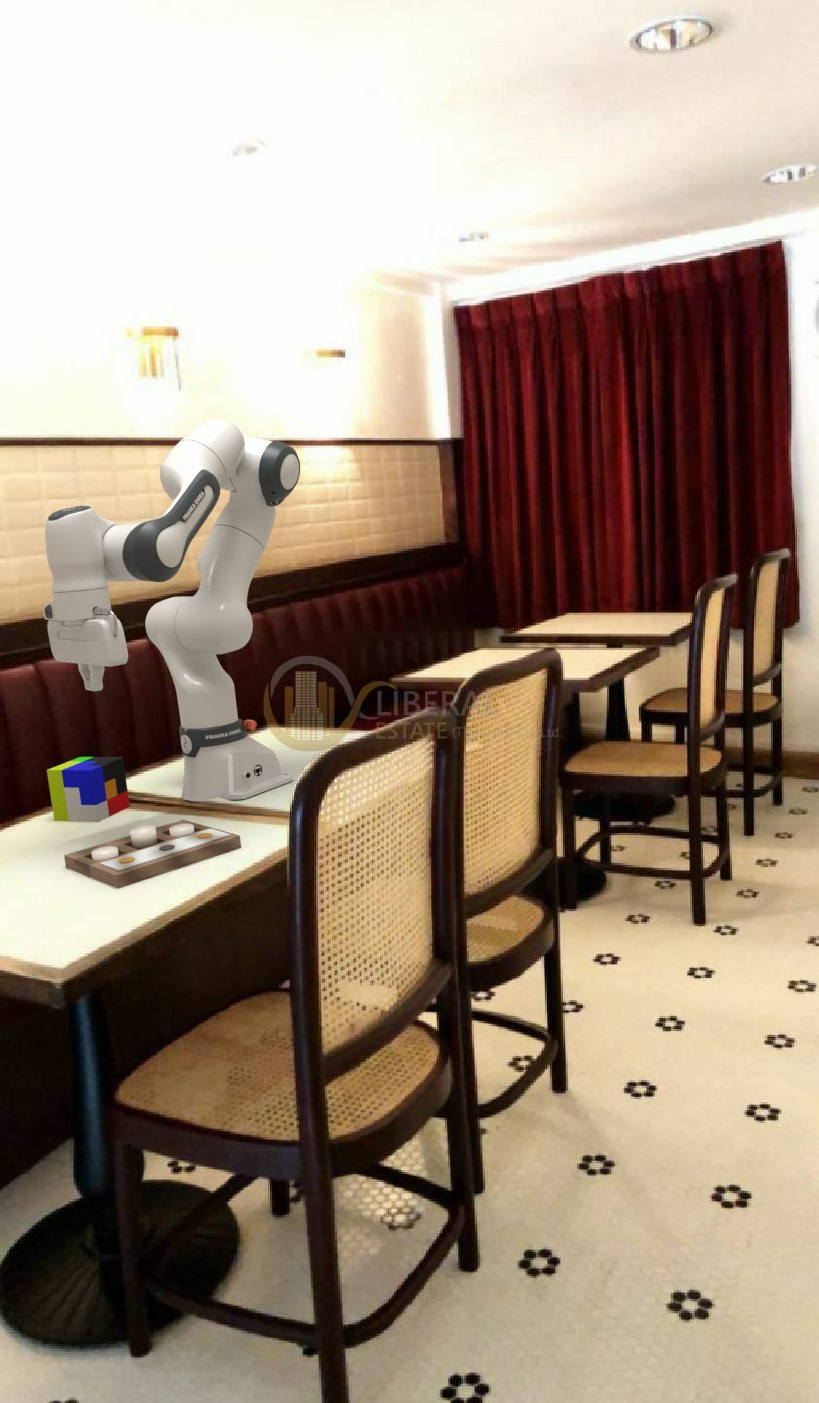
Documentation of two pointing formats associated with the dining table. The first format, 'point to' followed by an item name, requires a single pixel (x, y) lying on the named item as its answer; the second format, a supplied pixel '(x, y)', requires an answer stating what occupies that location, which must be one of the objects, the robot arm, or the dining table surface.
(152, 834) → the middle button
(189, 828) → the button
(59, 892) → the dining table surface
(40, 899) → the dining table surface
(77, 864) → the console
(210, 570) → the robot arm
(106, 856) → the button
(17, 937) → the dining table surface
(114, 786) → the puzzle toy
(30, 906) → the dining table surface
